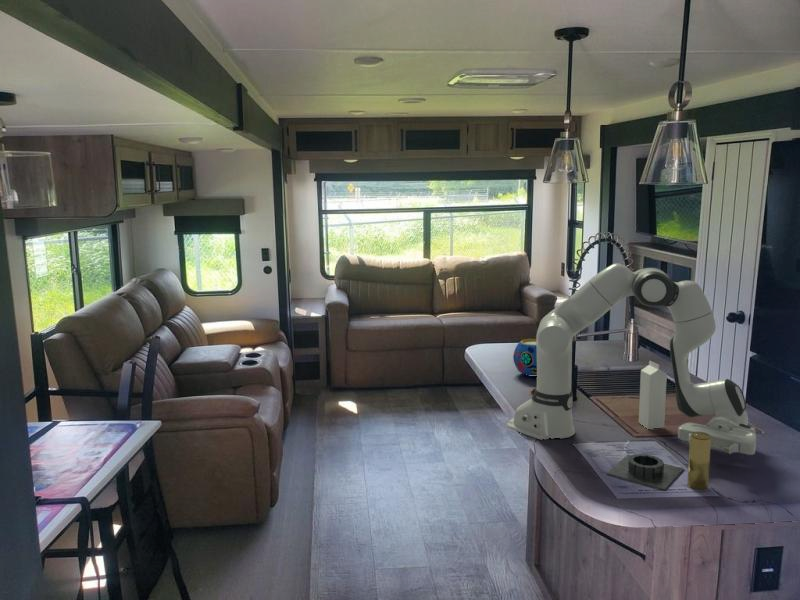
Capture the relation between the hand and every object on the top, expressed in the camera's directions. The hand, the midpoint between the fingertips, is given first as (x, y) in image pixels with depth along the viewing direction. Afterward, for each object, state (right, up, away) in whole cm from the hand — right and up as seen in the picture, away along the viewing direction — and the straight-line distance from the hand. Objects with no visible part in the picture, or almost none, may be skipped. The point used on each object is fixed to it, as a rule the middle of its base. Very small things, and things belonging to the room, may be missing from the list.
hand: (709, 446), depth 178 cm
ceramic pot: (-28, +8, +99) cm, 103 cm away
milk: (-1, -2, +38) cm, 38 cm away
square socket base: (-17, -8, +3) cm, 19 cm away
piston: (-6, -9, -6) cm, 13 cm away
